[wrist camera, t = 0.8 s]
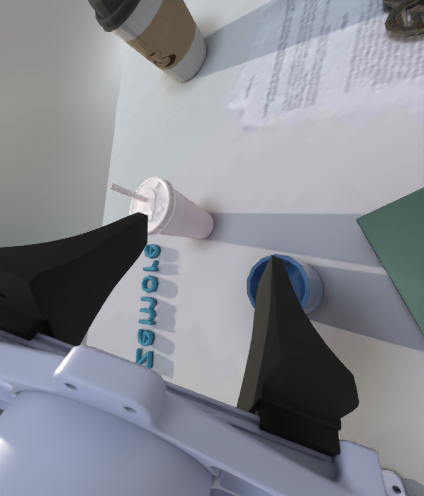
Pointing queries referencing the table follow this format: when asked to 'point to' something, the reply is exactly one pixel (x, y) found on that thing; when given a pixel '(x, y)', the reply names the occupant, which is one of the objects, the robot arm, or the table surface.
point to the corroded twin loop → (405, 17)
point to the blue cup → (301, 279)
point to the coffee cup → (156, 33)
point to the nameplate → (148, 335)
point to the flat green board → (401, 247)
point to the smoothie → (168, 210)
